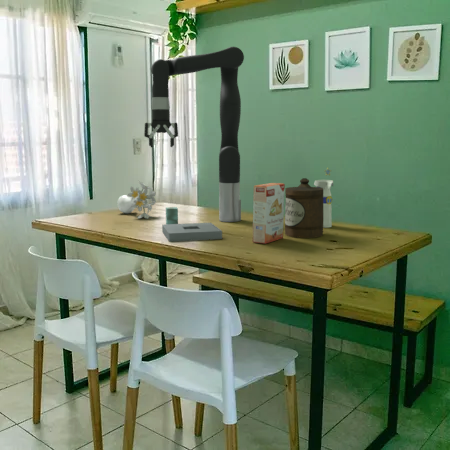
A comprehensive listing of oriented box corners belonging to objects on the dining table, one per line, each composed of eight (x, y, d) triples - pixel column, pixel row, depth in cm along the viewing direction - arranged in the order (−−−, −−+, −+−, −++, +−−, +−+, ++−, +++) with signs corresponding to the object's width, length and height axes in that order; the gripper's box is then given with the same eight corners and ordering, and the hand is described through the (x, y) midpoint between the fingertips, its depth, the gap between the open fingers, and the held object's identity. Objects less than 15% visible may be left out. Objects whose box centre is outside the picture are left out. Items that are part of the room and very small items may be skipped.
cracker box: (266, 244, 198) (267, 186, 194) (251, 242, 201) (252, 185, 198) (284, 238, 209) (285, 182, 206) (270, 236, 213) (271, 182, 209)
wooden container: (278, 232, 221) (279, 177, 218) (311, 230, 226) (312, 176, 223) (295, 239, 207) (296, 180, 204) (330, 236, 212) (331, 179, 209)
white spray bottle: (337, 226, 235) (339, 167, 231) (323, 228, 230) (325, 168, 226) (322, 223, 241) (324, 166, 237) (308, 225, 236) (310, 167, 232)
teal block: (176, 227, 234) (176, 207, 233) (178, 228, 230) (177, 208, 229) (166, 227, 233) (165, 207, 232) (167, 229, 229) (166, 208, 228)
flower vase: (119, 227, 273) (142, 220, 253) (107, 191, 271) (129, 182, 251) (141, 220, 280) (165, 213, 260) (129, 185, 279) (153, 175, 259)
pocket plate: (211, 229, 227) (210, 222, 227) (222, 238, 208) (222, 231, 208) (162, 231, 223) (162, 224, 222) (169, 241, 204) (168, 233, 203)
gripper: (176, 109, 241) (176, 146, 243) (143, 108, 237) (144, 147, 240) (178, 108, 233) (179, 147, 236) (144, 108, 230) (145, 147, 233)
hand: (161, 147), depth 238 cm, fingers open, 8 cm apart
